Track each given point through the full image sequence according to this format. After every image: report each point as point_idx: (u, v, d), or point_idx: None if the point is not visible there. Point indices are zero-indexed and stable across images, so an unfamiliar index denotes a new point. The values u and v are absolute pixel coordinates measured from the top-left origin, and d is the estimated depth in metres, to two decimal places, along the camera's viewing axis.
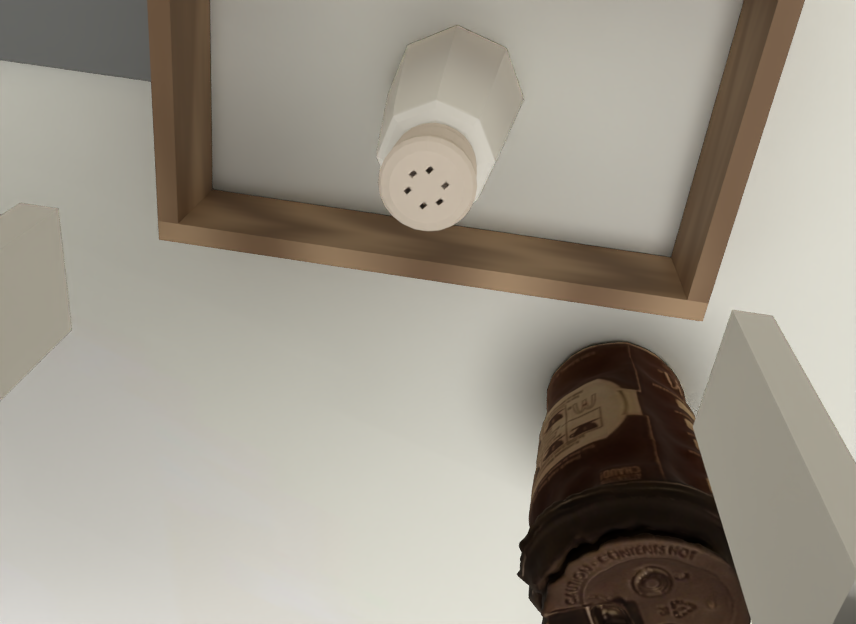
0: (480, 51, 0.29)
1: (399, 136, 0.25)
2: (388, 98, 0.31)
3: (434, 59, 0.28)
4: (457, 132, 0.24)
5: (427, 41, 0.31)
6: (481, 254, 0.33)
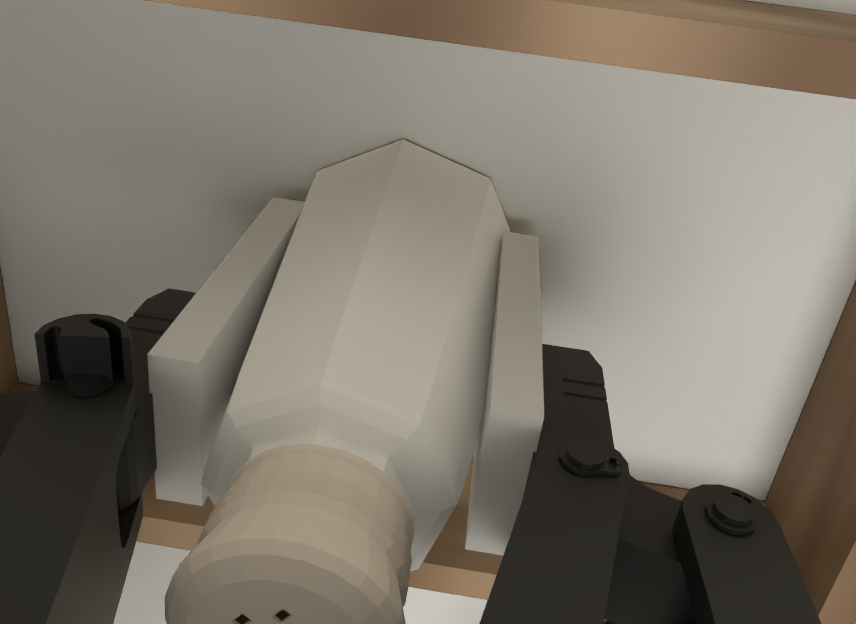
0: (440, 198, 0.16)
1: (242, 455, 0.11)
2: None
3: (348, 229, 0.14)
4: (366, 468, 0.10)
5: (348, 170, 0.17)
6: (450, 522, 0.19)
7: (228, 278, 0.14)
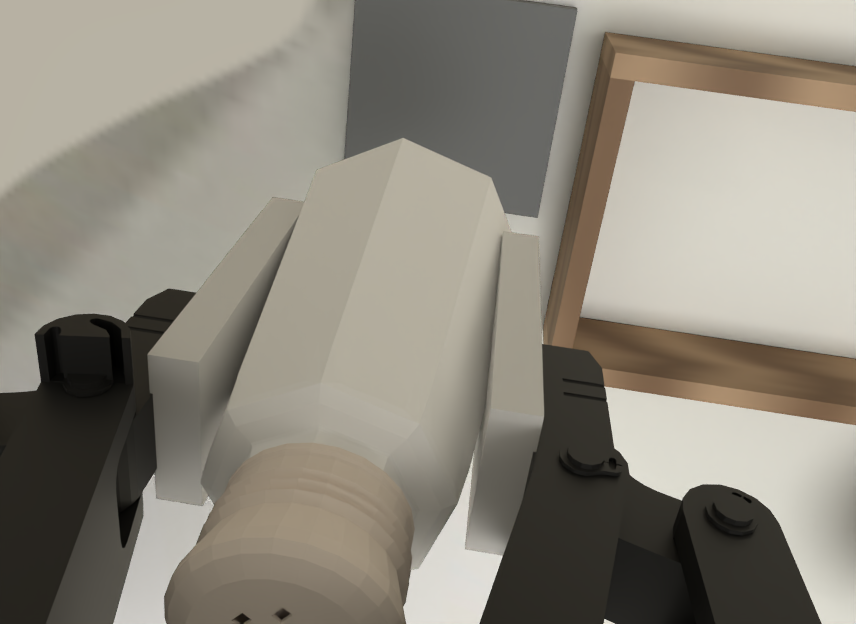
0: (440, 197, 0.16)
1: (242, 454, 0.11)
2: None
3: (348, 227, 0.14)
4: (366, 467, 0.10)
5: (348, 169, 0.17)
6: None
7: (228, 278, 0.14)
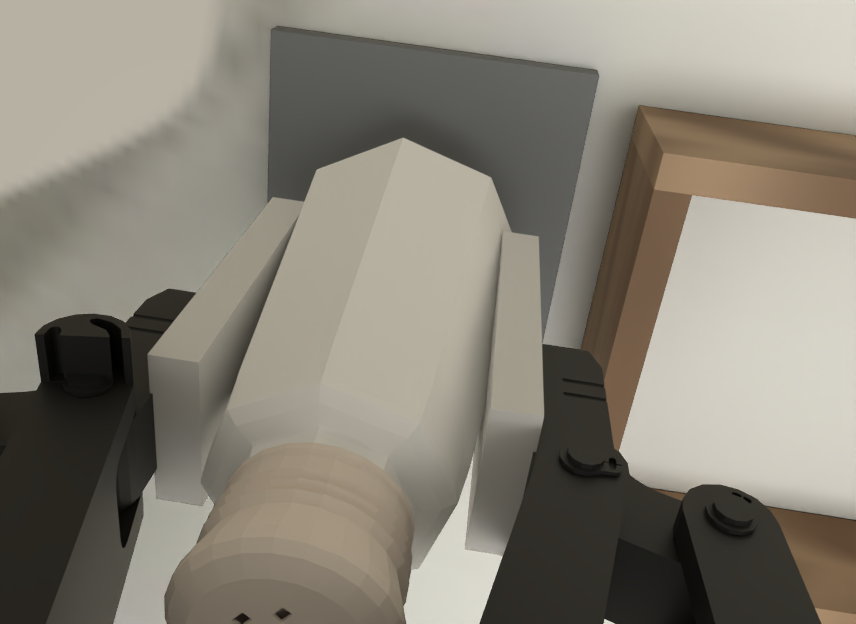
0: (440, 197, 0.16)
1: (242, 453, 0.11)
2: None
3: (348, 227, 0.14)
4: (367, 467, 0.10)
5: (348, 169, 0.17)
6: None
7: (228, 278, 0.14)
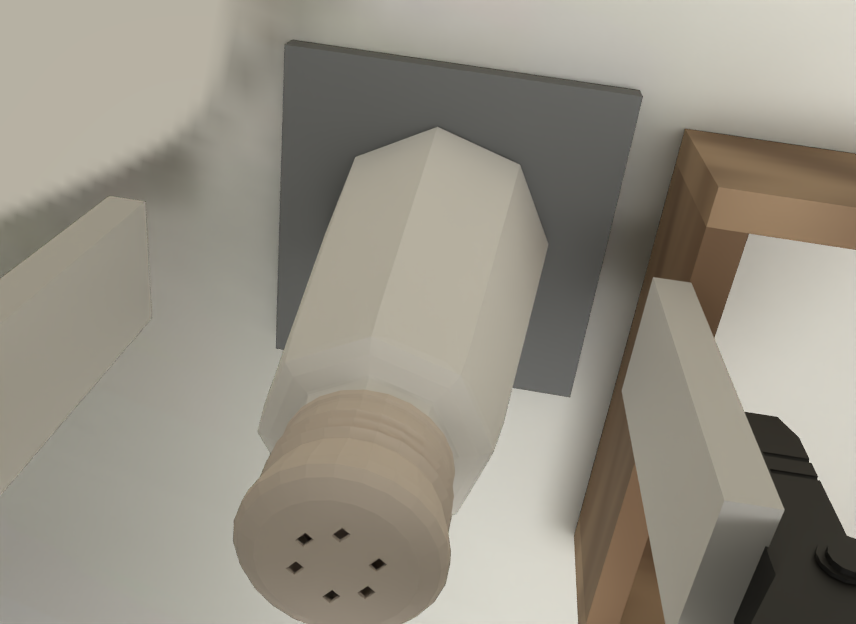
0: (474, 180, 0.17)
1: (298, 402, 0.12)
2: (319, 250, 0.18)
3: (389, 205, 0.15)
4: (413, 412, 0.11)
5: (386, 155, 0.18)
6: None
7: (17, 282, 0.13)
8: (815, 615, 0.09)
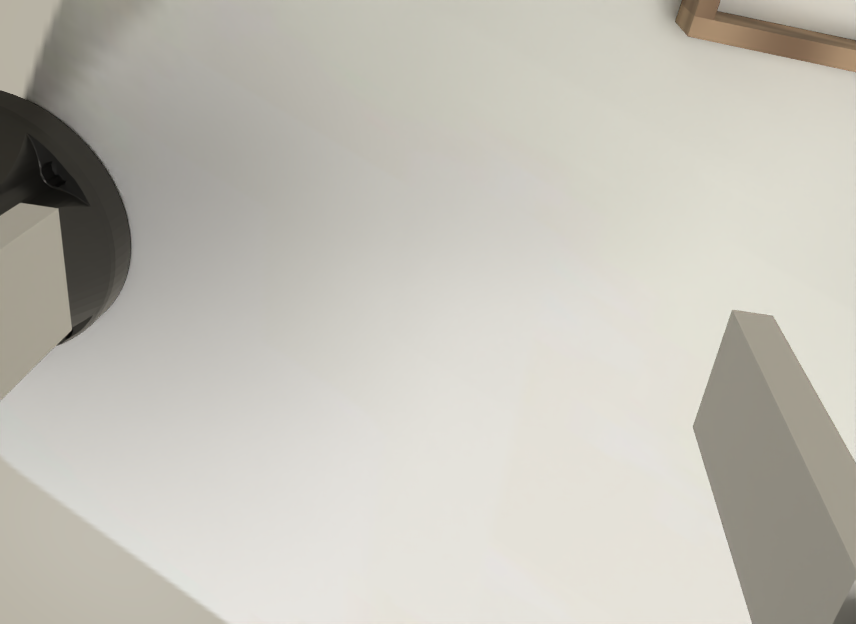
0: None
1: None
2: None
3: None
4: None
5: None
6: None
7: None
8: None
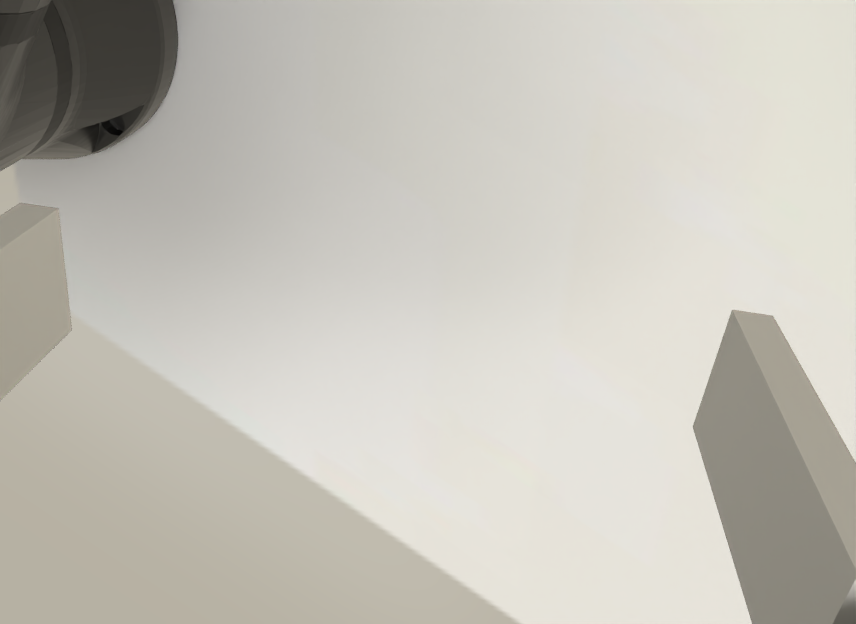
0: None
1: None
2: None
3: None
4: None
5: None
6: None
7: None
8: None
